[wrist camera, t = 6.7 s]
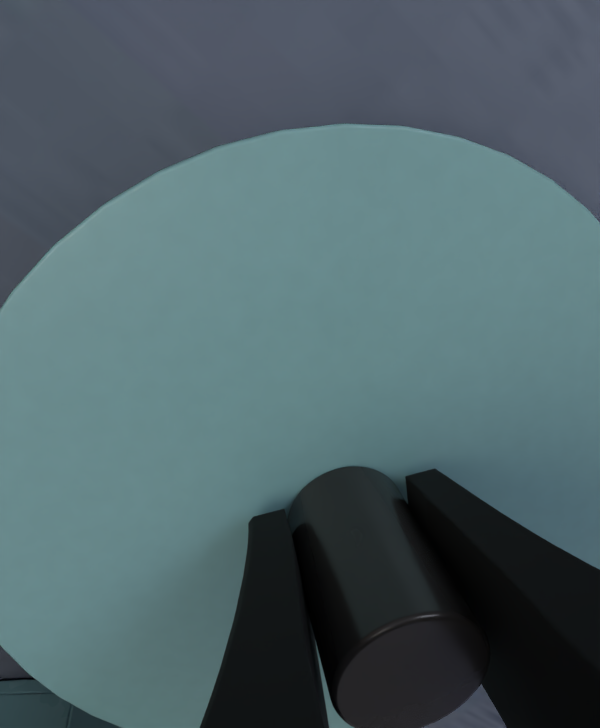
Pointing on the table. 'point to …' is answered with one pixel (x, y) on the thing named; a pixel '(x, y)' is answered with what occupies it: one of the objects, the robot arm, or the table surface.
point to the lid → (291, 413)
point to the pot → (41, 708)
